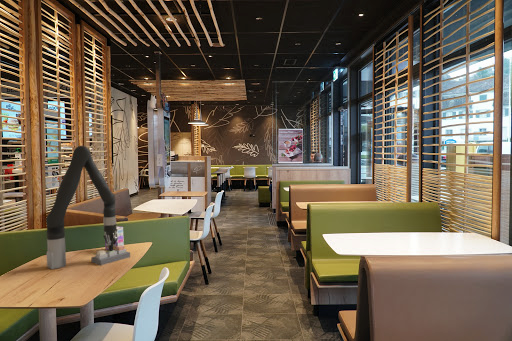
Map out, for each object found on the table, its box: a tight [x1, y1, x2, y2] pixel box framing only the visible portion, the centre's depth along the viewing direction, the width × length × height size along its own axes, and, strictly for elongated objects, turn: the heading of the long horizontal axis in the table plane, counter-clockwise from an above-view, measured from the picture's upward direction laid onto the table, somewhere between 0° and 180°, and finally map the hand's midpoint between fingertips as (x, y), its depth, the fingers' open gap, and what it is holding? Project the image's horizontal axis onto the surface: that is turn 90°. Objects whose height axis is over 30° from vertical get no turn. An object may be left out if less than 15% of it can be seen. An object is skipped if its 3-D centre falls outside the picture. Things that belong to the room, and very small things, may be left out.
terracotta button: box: [116, 245, 125, 251], centre depth 229 cm, size 4×4×2 cm
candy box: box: [103, 225, 125, 251], centre depth 246 cm, size 14×6×16 cm, turn 58°
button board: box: [91, 248, 131, 266], centre depth 224 cm, size 20×11×5 cm, turn 143°
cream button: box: [96, 249, 107, 256], centre depth 219 cm, size 4×4×2 cm
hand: (111, 250), depth 224 cm, fingers closed
